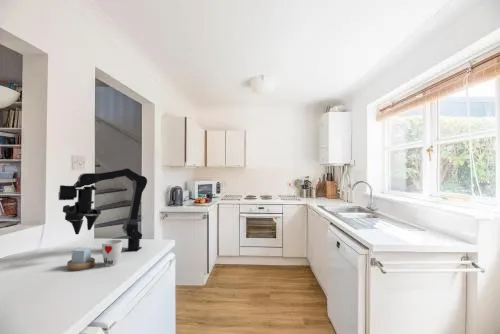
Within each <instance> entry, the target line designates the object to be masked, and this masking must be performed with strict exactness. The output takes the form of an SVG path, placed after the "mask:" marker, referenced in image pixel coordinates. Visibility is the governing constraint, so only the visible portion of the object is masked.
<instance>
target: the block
mask: <svg viewBox="0 0 500 334" xmlns="http://www.w3.org/2000/svg"><path fill="white" fill-rule="evenodd" d="M91 254H92V247H77V248H75V249H73V250H72V251H71V260H72V263H84V262H86V261H88V260H90V259H91V257H92V255H91Z"/></svg>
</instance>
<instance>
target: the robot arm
mask: <svg viewBox="0 0 500 334" xmlns="http://www.w3.org/2000/svg"><path fill="white" fill-rule="evenodd" d="M122 177H125V178H126V179H128V180H130V181H132V190H133V191H132V197H131V203H130V208H129V212H128V217H127V218H126V220H123V221H122V223H123V225H122V227H121V229H122V231H123V233H124V234H125V235H126V238H128V239H127V248H126V249H124V251H126V252H138V251H139V250H141V249H142V248H143V247H142V246H140V240H141V239H142V237H143V234H142V233H141V232H140V231H139V222H138V217H139V211H140V207H141V200H142V195H143V192H144V190H145V189H146V186H147V184H148V179H147V178H146V176H145V175H140V174H138V173H136V172H135V171H133V170H131V169H130V168H126V167H125V168H122V169H117V170H112V171H110V170H109V171H105V172H104V171H103V172H91V173H90V172H87V173H86V172H84V173H81V174H80V175H79V176H78V178H77V181H76V182H75V183H74V184H73V185H64V184H63V185H62V184H61V185H59V191H58V201H74V200H75V199H76V198H77V201H75V203H74V205H69V204H67V205H66V204H65V205H63V206H62V213H65V215H64V220H65V221H66V222H69V223H71V225H72V228H73V230H74V233H75V235H79V233H81V232H80V231H81V228H82V226H83V223H84V217H85V219H86V225H87V231H91V230H92V228H93V226H94V224H95V222H96V220H97V219H98V218H99V217H100V215H101V213H102V211H101V209H100V208H92V205H93V204H94V200H93V191H97V190H98V189H97V187H95V185H94V184H96V183H98V182H99V183H100V182H101V181H106V180H111V179H117V178H122Z"/></svg>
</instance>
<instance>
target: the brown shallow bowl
mask: <svg viewBox="0 0 500 334" xmlns="http://www.w3.org/2000/svg"><path fill="white" fill-rule="evenodd" d="M95 262H96V260H95V258H94V257H92V256H91V259H90V260H88V261H86V262H84V263H72V259H70V260H68V261H67V264H66V270H67V271H70V272H79V271H85V270H90V269H92V268H94V266H95V264H96V263H95Z"/></svg>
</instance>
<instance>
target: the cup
mask: <svg viewBox="0 0 500 334" xmlns="http://www.w3.org/2000/svg"><path fill="white" fill-rule="evenodd" d="M101 245H102V247H101V248H102V249H101V250H102V251H101V252H102V260H103V264H104V266H105V267H113V266H117V265H118V264H119V261H120V258H121V254H122V250H123V249H122V248H123V240H122V239H107V240H104V241H102V242H101Z"/></svg>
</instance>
